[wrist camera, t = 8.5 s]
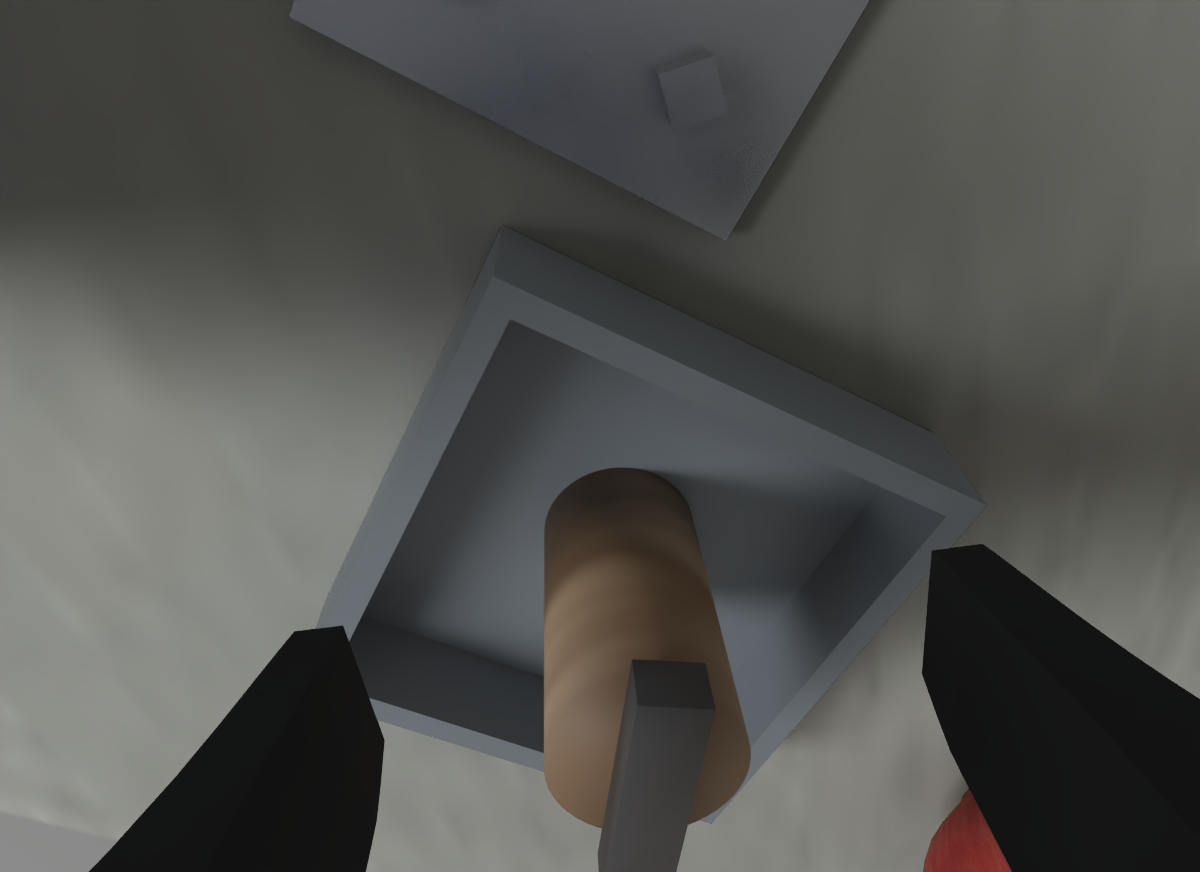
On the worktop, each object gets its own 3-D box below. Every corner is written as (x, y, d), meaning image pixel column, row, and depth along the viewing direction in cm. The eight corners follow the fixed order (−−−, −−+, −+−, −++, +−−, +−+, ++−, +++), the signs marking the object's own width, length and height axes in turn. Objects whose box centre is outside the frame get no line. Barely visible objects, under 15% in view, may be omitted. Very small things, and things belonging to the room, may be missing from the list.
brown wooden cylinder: (536, 604, 23) (532, 903, 16) (553, 439, 20) (557, 702, 13) (676, 612, 23) (733, 906, 16) (709, 450, 21) (792, 712, 14)
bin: (323, 606, 23) (293, 693, 21) (502, 225, 18) (492, 276, 16) (696, 733, 26) (711, 823, 23) (934, 433, 21) (987, 505, 19)
